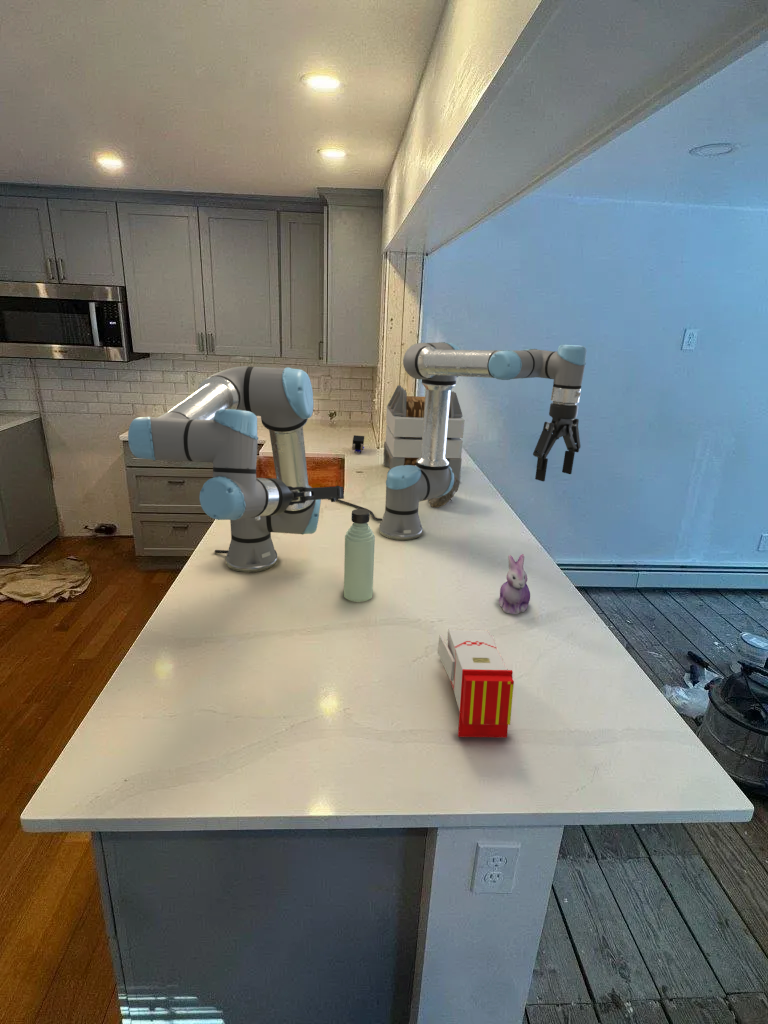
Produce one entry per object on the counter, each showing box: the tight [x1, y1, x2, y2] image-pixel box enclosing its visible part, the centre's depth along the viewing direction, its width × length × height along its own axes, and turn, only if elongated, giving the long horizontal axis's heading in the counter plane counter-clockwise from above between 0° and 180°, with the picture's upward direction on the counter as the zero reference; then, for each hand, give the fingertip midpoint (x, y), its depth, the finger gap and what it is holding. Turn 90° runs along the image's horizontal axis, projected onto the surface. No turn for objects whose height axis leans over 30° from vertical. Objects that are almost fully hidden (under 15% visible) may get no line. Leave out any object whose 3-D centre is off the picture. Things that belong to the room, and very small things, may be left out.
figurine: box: [498, 553, 531, 615], centre depth 151 cm, size 9×10×15 cm
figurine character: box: [351, 435, 365, 454], centre depth 310 cm, size 7×8×15 cm
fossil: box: [428, 476, 460, 509], centre depth 235 cm, size 22×10×15 cm
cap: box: [351, 508, 371, 524], centre depth 148 cm, size 5×5×2 cm
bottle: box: [343, 522, 376, 603], centre depth 152 cm, size 8×8×24 cm
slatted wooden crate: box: [383, 384, 465, 483], centre depth 268 cm, size 34×33×41 cm
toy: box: [437, 628, 515, 738], centre depth 117 cm, size 12×13×30 cm
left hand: (315, 495), depth 131 cm, fingers open, 13 cm apart
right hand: (553, 476), depth 165 cm, fingers open, 13 cm apart
